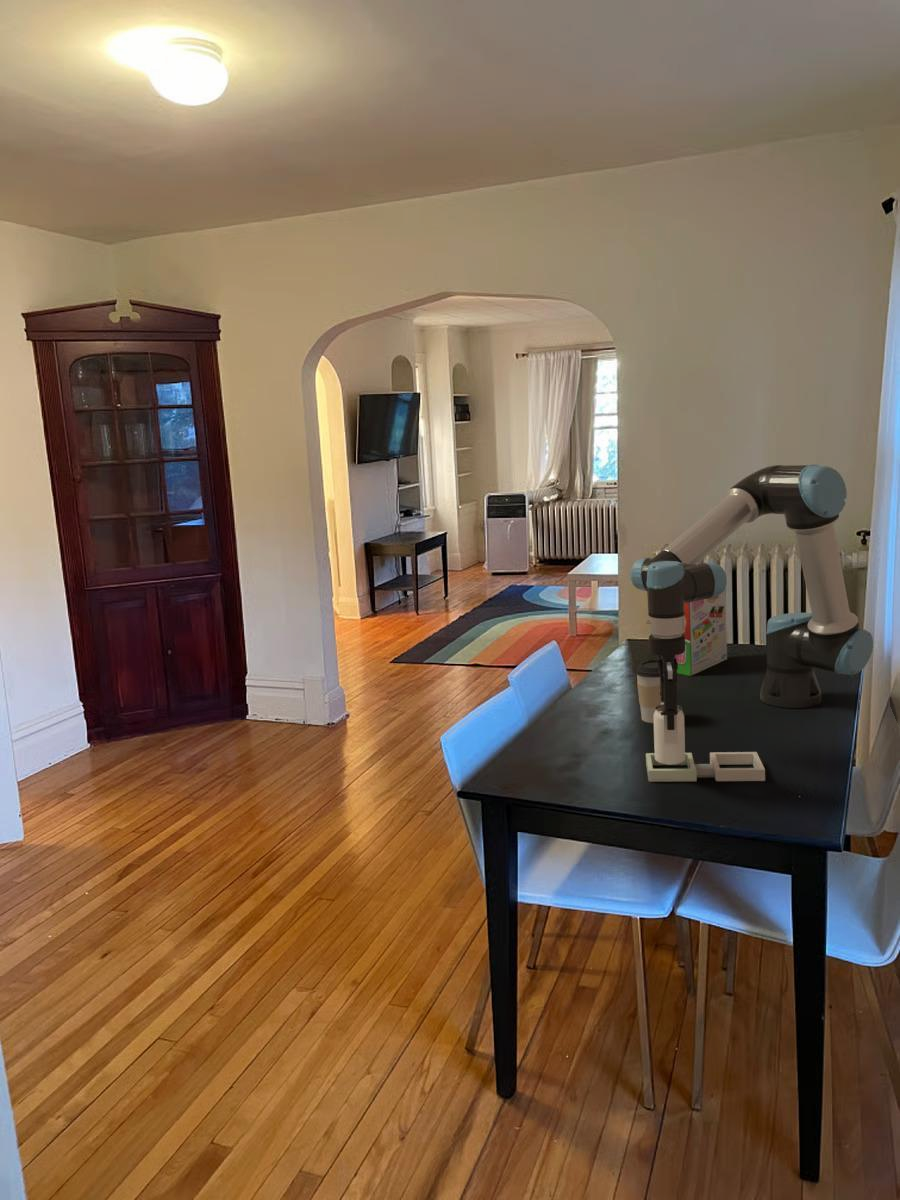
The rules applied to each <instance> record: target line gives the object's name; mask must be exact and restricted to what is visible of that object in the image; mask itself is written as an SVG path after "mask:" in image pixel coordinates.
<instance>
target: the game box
mask: <svg viewBox="0 0 900 1200" xmlns="http://www.w3.org/2000/svg"><path fill="white" fill-rule="evenodd" d="M726 599H727V595H726V588H725V590H724V591H723V592H722V593H721V594H720V595H717V596H714V597H712V598H710V599H703V600H698V601H693V602H689V603H684V612H685V633H683V635H684V636H685V652H684V653H682V654H680V655H675V656H674V657H675V659H676V661H677V663H678V669H677V675H678V674H679V675H683V676H689V677H692V676H694V675H696V674H698V673H700V672H703V671H705V670H707V669H709V668H712V667H714V666H716V665H718V664H720V663H722V662H724V661H727V660H728V647H727V645H728V642H727V603H726V602H727V600H726Z"/></svg>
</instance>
